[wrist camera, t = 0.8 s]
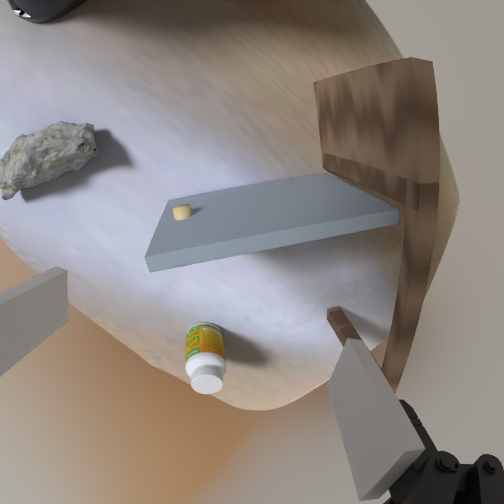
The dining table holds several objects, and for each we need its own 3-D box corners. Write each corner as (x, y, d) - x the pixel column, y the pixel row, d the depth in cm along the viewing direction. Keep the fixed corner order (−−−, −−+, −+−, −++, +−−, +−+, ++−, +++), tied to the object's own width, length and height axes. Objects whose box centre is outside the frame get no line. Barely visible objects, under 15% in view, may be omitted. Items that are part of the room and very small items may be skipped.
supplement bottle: (195, 316, 40) (196, 366, 31) (228, 328, 41) (236, 378, 33) (180, 341, 41) (178, 390, 32) (212, 352, 43) (216, 401, 34)
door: (325, 166, 33) (399, 198, 20) (327, 190, 34) (398, 234, 21) (166, 193, 32) (141, 244, 18) (172, 217, 33) (153, 283, 19)
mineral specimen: (99, 100, 26) (76, 97, 20) (111, 157, 29) (90, 166, 23) (4, 146, 25) (-26, 154, 19) (16, 195, 28) (-12, 211, 22)
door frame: (313, 82, 29) (411, 57, 13) (329, 82, 29) (432, 61, 13) (327, 319, 44) (378, 406, 28) (338, 315, 44) (392, 400, 28)
